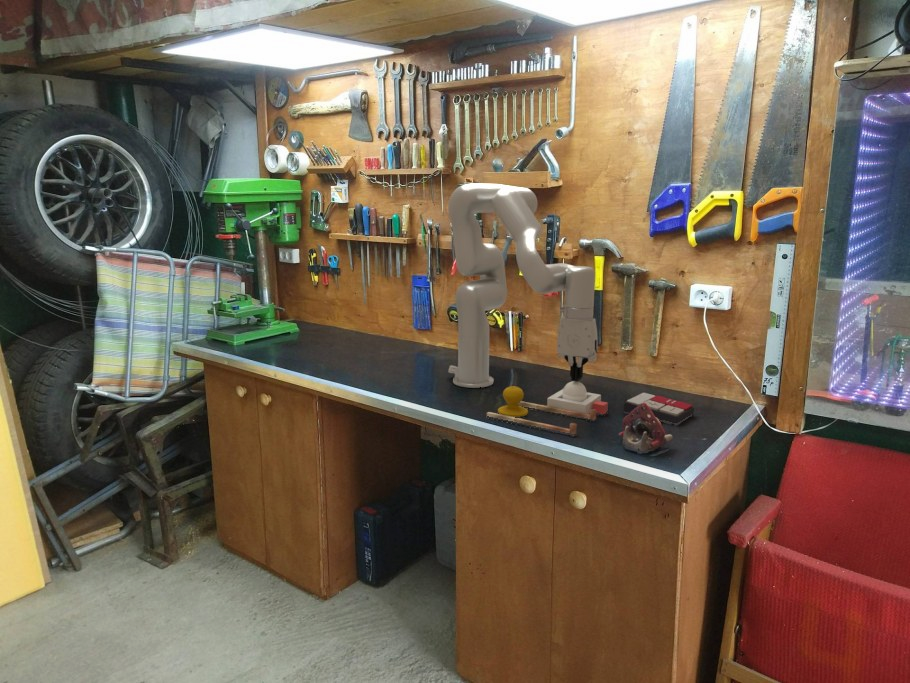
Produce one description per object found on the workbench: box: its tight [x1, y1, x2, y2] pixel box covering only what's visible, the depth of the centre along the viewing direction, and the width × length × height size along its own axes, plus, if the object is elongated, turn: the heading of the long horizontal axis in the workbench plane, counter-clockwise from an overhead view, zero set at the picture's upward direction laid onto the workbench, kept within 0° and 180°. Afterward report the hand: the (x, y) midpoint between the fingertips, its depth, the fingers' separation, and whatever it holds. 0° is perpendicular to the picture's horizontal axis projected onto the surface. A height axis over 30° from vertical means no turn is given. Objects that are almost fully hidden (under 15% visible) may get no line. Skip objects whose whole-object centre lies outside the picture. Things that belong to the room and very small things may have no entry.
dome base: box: [546, 388, 609, 414], centre depth 182 cm, size 14×11×4 cm
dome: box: [562, 381, 588, 402], centre depth 183 cm, size 6×6×6 cm
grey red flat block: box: [623, 392, 695, 423], centre depth 179 cm, size 11×4×15 cm
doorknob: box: [497, 385, 529, 417], centre depth 179 cm, size 8×8×8 cm
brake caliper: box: [618, 403, 674, 451], centre depth 156 cm, size 11×11×12 cm
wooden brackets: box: [486, 400, 597, 435], centre depth 175 cm, size 25×15×3 cm, turn 57°
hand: (576, 379), depth 182 cm, fingers closed
